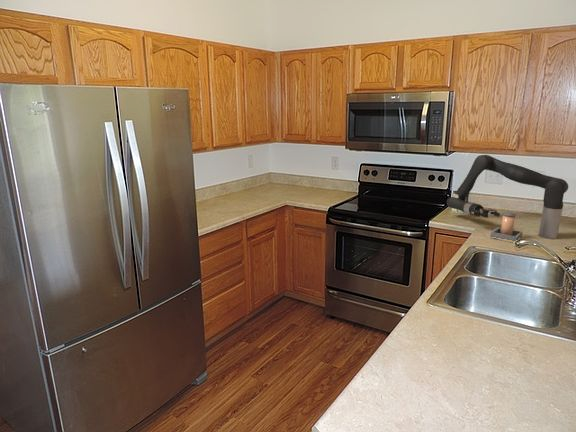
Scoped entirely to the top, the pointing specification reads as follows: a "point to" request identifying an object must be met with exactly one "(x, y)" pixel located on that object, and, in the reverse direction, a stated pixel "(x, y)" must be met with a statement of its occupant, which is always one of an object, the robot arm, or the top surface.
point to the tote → (514, 237)
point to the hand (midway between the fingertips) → (493, 215)
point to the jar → (507, 223)
